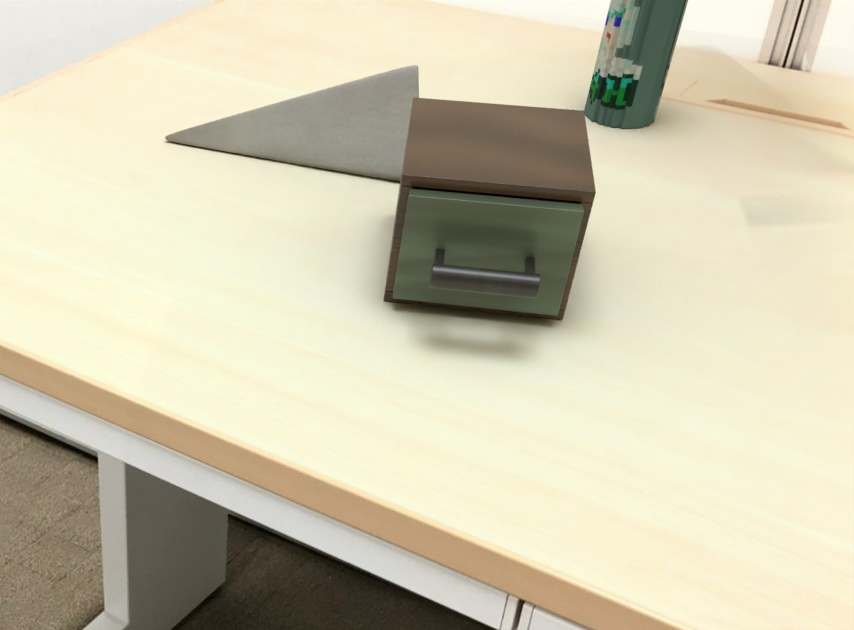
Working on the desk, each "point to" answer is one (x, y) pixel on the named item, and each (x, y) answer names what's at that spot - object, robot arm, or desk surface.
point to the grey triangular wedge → (324, 127)
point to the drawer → (486, 250)
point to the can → (633, 61)
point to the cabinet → (495, 164)
